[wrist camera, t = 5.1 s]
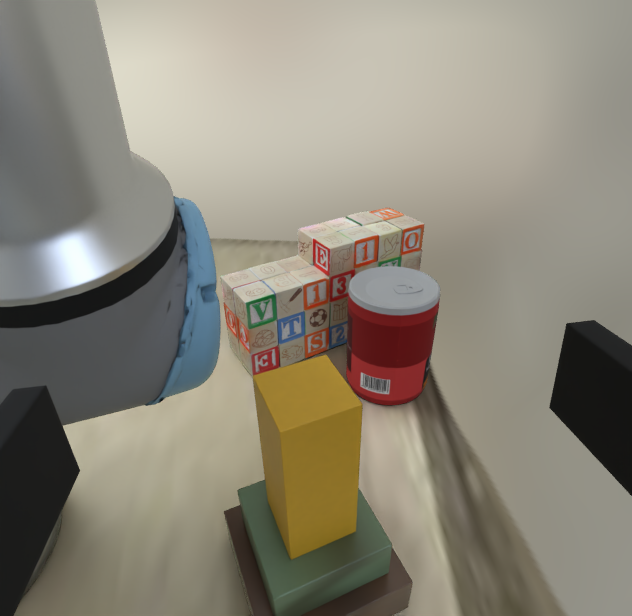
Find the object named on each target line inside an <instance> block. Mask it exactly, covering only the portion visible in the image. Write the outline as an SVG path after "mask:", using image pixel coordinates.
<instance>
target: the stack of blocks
mask: <svg viewBox="0 0 632 616" xmlns="http://www.w3.org/2000/svg"><path fill="white" fill-rule="evenodd" d="M423 232H424V223H422V222H419V221H418V220H415V219H413V218H411V217H409V216H407V215H404V214H402V213H400V212H397V211H395V210H393V209H391V208H384V209H380V210H375V211H371V212H367V211H365V212H361V213H356V214H352V215H348V216H346V218H344V217H343V218H339V219H334V220H331V221H327V222H323V223H320V224H315V225H312V226H307V227H303V228H299V229H298V255H297V256H293V257H289V258H286V259H282V260H279V261H276V262H270V263H266V264H263V265H259V266H255V267H251V268H249V269H245V270H241V271H238V272H234V273H230V274H227V275H223V276H221V284H222V292H223V299H224V310H225V317H226V323H227V329H228V335H229V341H230V347H231V349H232V350H233V351H234V353H235V354H236V355H237V357H238V358H239V359H240V361H241V362H242V364H243V365H244V367H245V368H246V369H247V371H248V372H249V373H250V374H251V376H252V377H253V375H257V374H260V373H263V372H267V371H270V370H274V369H277V368H279V367H284V366H287V365H290V364H292V363H295V362H298V361H300V360H302V359H304V358H308V357H311V356H313V355H316V354H319V353H321V352H324V351H327V350H328V349H331V348H333V347H336V346H338V345H341V344H344V343H346V342H347V321H348V290H349V283H350V281H351V279H352V278H353V277H354V276H355V275H356V274H358V273H359V272H362V271H364V270H367V269H371V268H376V267H385V266H396V267H405V268H410V269H414V270H418V271H419V270H420V263H421V254H422V249H421V247H422V239H423Z"/></svg>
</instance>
